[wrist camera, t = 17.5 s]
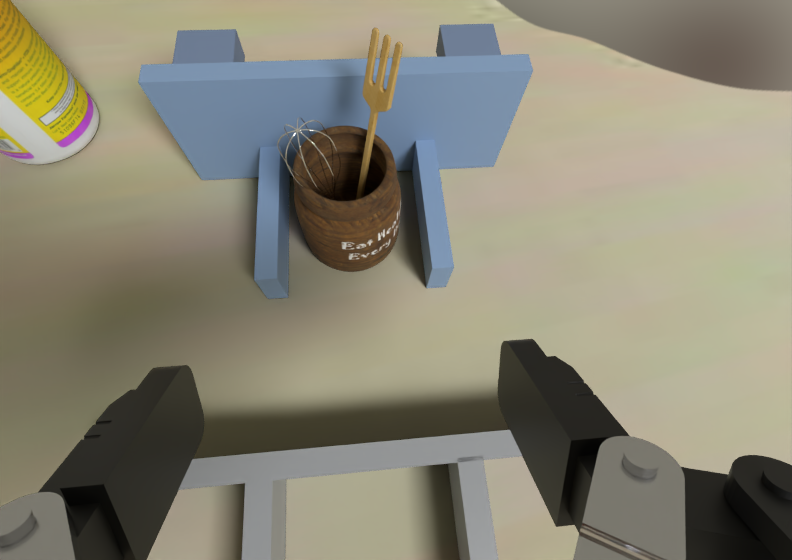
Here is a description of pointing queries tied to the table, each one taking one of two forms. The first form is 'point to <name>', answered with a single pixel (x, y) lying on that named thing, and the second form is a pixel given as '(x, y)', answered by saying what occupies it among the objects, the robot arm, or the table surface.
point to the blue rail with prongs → (337, 123)
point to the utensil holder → (350, 180)
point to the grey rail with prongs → (273, 468)
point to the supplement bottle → (39, 97)
